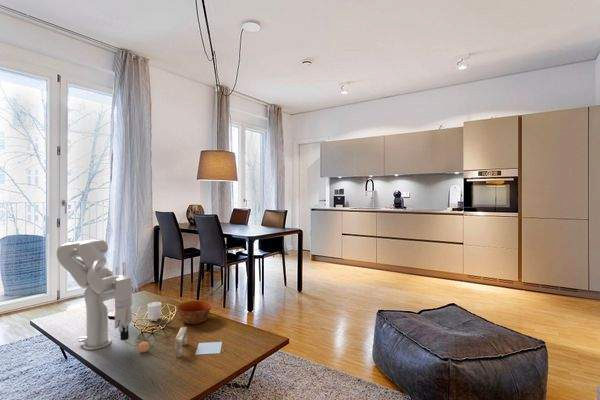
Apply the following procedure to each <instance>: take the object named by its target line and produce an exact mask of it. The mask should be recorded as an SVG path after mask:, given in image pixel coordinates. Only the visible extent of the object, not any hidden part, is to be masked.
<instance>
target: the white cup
mask: <svg viewBox="0 0 600 400" xmlns="http://www.w3.org/2000/svg"><path fill="white" fill-rule="evenodd" d="M161 313H162V302H160V301H152V302H149V303H147V318H148V319H158V318H160V319H161ZM148 319H147V320H148Z"/></svg>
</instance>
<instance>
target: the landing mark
mask: <svg viewBox="0 0 600 400" xmlns="http://www.w3.org/2000/svg"><path fill="white" fill-rule="evenodd" d="M222 345H223V341H215V342H214V341H211V342H199V343H198V345H197V348H196V351H195V353H194V354H195V356H199V355H213V354H214V355H215V354H221V351H222Z"/></svg>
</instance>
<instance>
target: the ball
mask: <svg viewBox="0 0 600 400" xmlns="http://www.w3.org/2000/svg"><path fill="white" fill-rule="evenodd" d="M149 348H150V343H149V342H147V341H141V342H140V343H139V344H138V347H137V350H138V352H140V353H142V354H143V353H146V352H147V351H149Z"/></svg>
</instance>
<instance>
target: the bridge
mask: <svg viewBox="0 0 600 400" xmlns="http://www.w3.org/2000/svg"><path fill="white" fill-rule="evenodd" d="M187 329H188V328H187V326H185V327H184V326H183V327H181V326H180V328H179V331H178V332H177V334H176V337H175V339H174V357H175V358H181V357H182V355H183V346H186V345H187V342H188V339H187V338H188V337H187V335H188V331H187Z"/></svg>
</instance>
